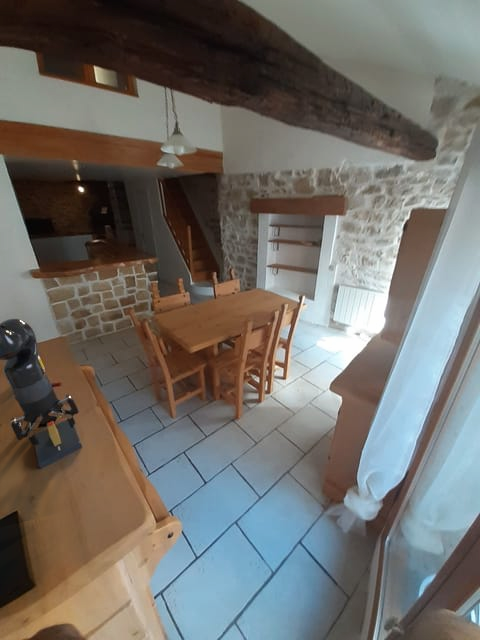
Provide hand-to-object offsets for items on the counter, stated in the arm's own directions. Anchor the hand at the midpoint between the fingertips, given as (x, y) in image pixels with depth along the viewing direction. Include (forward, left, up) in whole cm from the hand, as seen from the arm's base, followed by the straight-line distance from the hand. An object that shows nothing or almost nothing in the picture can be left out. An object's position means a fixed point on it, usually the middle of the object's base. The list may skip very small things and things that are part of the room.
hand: (55, 434), depth 73 cm
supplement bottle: (-21, +40, -5) cm, 46 cm away
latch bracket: (-8, +13, -5) cm, 16 cm away
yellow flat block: (0, 0, -2) cm, 2 cm away
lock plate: (0, 0, -5) cm, 5 cm away
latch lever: (-8, +17, +2) cm, 19 cm away
